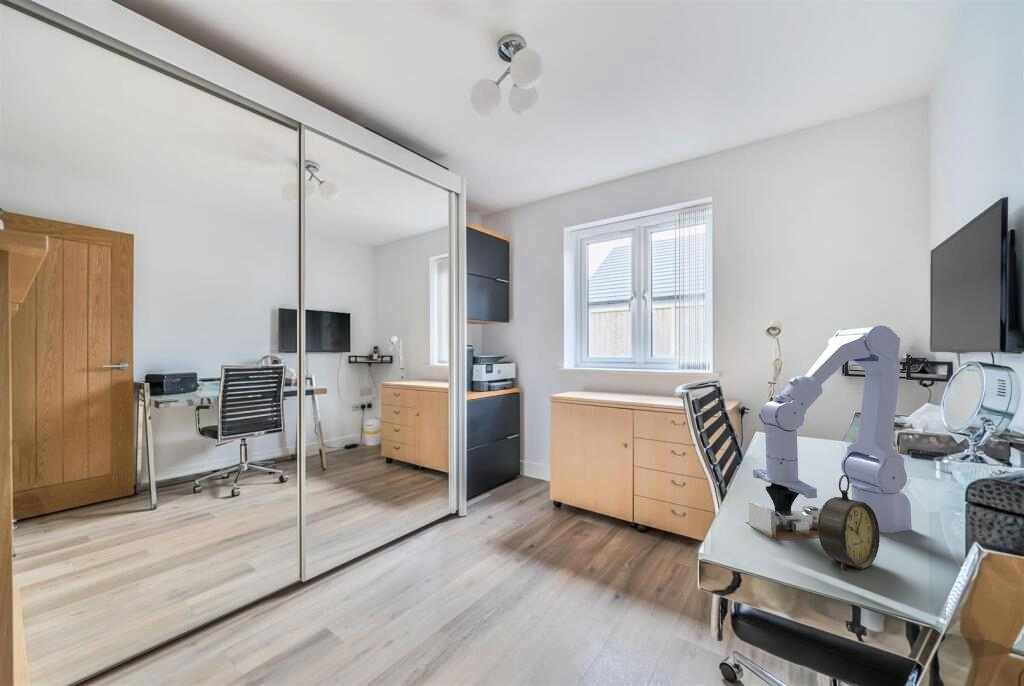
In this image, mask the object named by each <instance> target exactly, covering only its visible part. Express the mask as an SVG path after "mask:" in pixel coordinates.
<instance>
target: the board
mask: <svg viewBox="0 0 1024 686" xmlns="http://www.w3.org/2000/svg"><path fill="white" fill-rule="evenodd" d="M744 523H745V524H746V525H748V526H750V527H752V526H751V525H750V522H749V521H744ZM754 529H755V530H757V531H759V530H758V529H756V528H754ZM763 534H764V535H766V536H768V535H767V534H765V533H763ZM771 539H774V540H775V541H777V542H778V541H779V542H781V541H782V542H783V541H795V540H798V541H799V540H809V539H810V540H814V539H819V536H818V530H815V529H809V534H801V535H796V534H794V533H792V530H785V529H780V530H776V537H771Z"/></svg>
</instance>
